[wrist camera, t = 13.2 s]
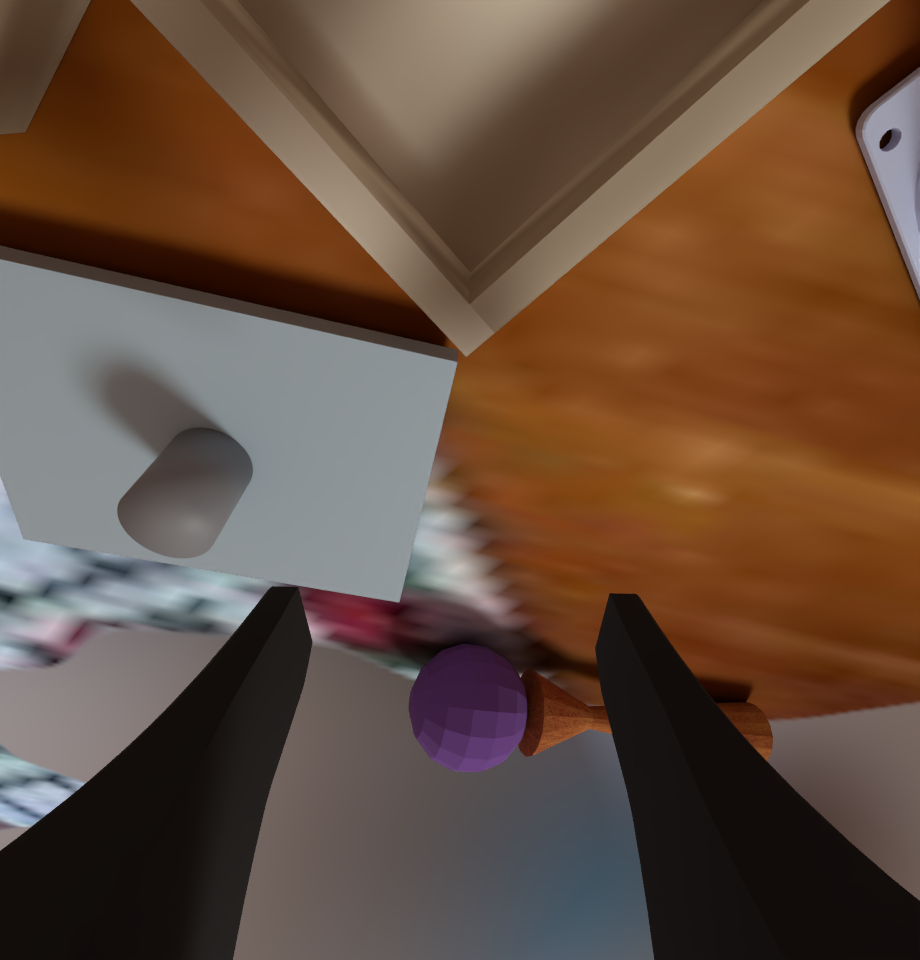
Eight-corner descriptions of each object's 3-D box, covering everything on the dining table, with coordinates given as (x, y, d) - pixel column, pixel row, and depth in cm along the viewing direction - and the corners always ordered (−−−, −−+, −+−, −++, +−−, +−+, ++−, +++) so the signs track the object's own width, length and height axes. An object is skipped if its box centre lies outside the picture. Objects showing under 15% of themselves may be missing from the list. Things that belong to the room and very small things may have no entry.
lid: (458, 339, 18) (454, 415, 14) (403, 570, 25) (389, 670, 21) (-32, 225, 17) (-216, 273, 12) (54, 509, 24) (-43, 604, 19)
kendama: (734, 803, 30) (395, 781, 26) (701, 698, 34) (403, 665, 30) (812, 779, 26) (422, 748, 22) (765, 662, 30) (427, 617, 26)
